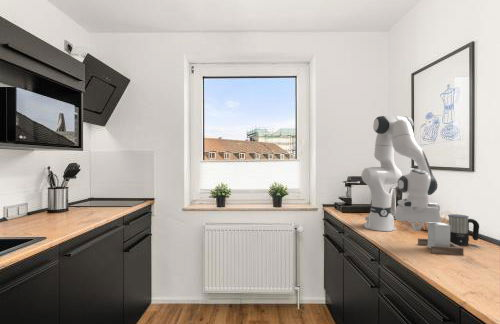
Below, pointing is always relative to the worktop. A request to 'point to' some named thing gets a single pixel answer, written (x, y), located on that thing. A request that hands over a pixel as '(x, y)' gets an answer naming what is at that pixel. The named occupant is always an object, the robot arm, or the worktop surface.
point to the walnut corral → (443, 248)
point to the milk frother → (462, 229)
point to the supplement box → (438, 234)
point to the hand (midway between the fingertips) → (416, 230)
